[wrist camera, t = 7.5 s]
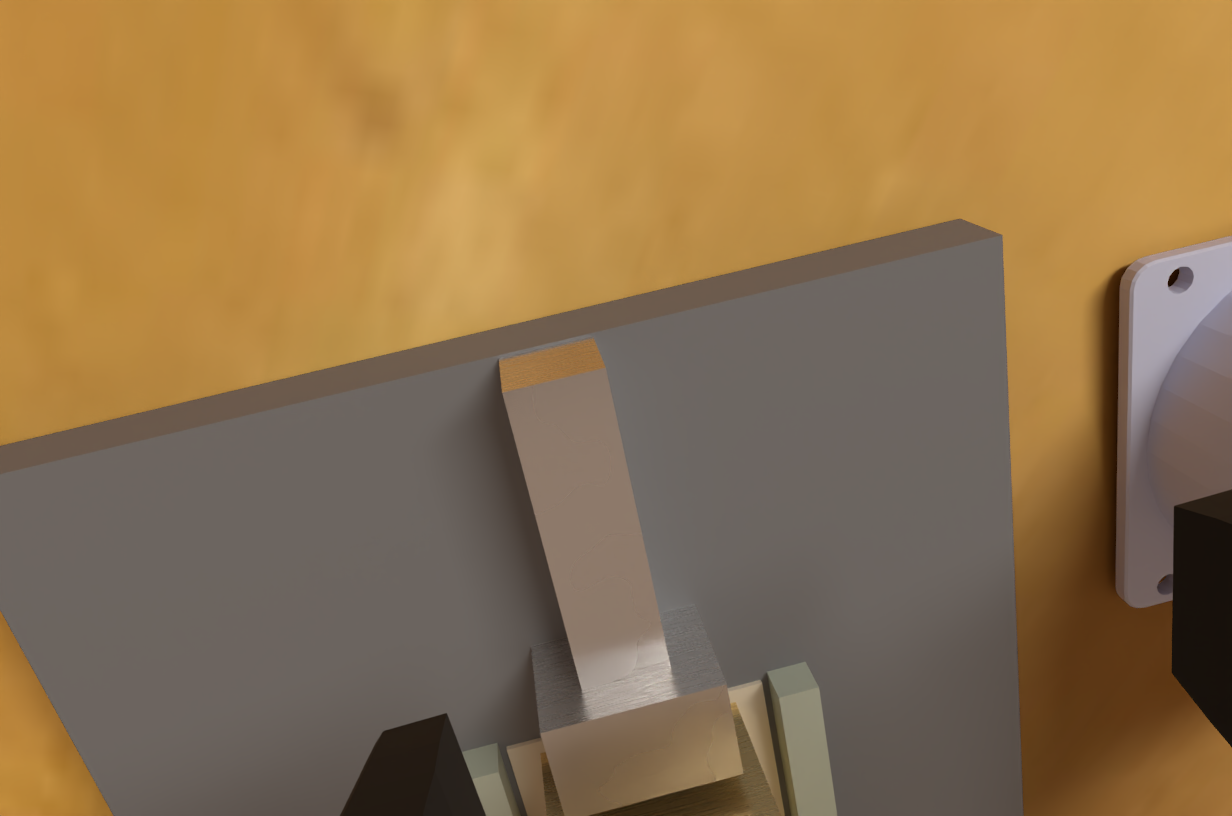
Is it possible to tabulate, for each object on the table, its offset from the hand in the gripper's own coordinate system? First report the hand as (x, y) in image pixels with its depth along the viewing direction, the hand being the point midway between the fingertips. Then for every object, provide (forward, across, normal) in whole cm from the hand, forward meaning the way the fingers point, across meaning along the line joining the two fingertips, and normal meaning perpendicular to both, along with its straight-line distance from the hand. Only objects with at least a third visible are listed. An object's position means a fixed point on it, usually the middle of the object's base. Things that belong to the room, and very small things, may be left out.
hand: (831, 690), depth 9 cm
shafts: (+8, +1, +11) cm, 13 cm away
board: (+9, +3, +10) cm, 14 cm away
